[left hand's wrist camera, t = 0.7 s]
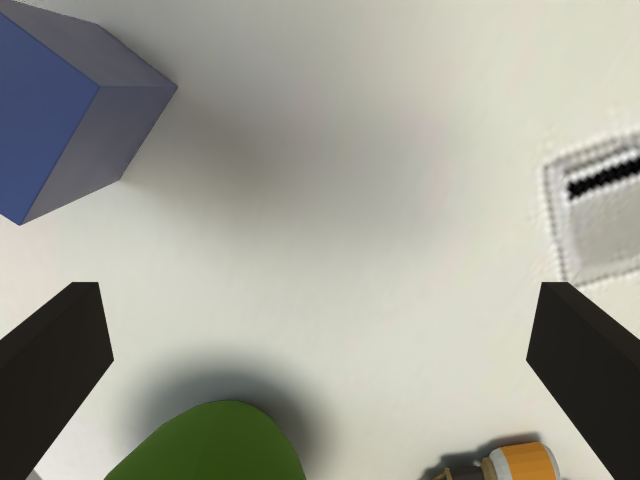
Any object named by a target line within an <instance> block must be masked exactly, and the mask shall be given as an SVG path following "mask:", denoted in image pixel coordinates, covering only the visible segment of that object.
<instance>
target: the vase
mask: <svg viewBox="0 0 640 480" xmlns="http://www.w3.org/2000/svg"><path fill="white" fill-rule="evenodd" d="M104 480H306V477H305V474H304V472H303V469H302V466H301V464H300V461H299V458H298V455H297V454H296V452H295V450H294V448H293V447H292V445H291V443H290V442H289V440H288V439H287V438H286V436H285V435H284V434H283V432H282V431H281V429H280V428H279V427H278V425H277V424H276V423H275V422H274V421H273V420H272V419H271V418H270V417H269V416H267V415H266V414H265V413H263V412H262V411H261V410H259V409H257V408H256V407H254V406H252V405H250V404H247V403H244V402H241V401H234V400H221V401H215V402H209V403H204V404H202V405H199V406H196V407H194V408H192V409H190V410H188V411H186V412H184V413H182V414H180V415H178V416H177V417H175V418H173V419H171V420H170V421H168V422H166V423H165V424H163V425H162V426H160V427H159V428H158V429H157V430H156V431H155V432H154V433H153V434H151V435H150V436H149V437H148V438H147V439H146V440H145V441H144V442H143V443H141V444H140V445H139V446H138V447H137V448H136V449H135V450H134V451H132V452H131V453H130V454H129V455H128V456H127V457H126V458H125V459H124V460H122V461H121V462H120V463H119V464H118V465H117V466H116V467H115V468H114V469H113V470H112V471H111V472H109V473H108V475H107V476H106V477H105V478H104Z"/></svg>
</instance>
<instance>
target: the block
mask: <svg viewBox="0 0 640 480" xmlns="http://www.w3.org/2000/svg"><path fill="white" fill-rule="evenodd" d="M176 89H177V86H176V85H175V84H174V83H172V82H171V81H170V80H168V79H167V78H166V77H165V76H163V75H162V74H161V73H159V72H158V71H157V70H156V69H154V68H153V67H152V66H150V65H149V64H148V63H147V62H145V61H144V60H143V59H141V58H140V57H139V56H137V55H136V54H135V53H134V52H132V51H131V50H130V49H128V48H127V47H126V46H125V45H123V44H122V43H121V42H119V41H118V40H117V39H116V38H114V37H113V36H112V35H110V34H109V33H108V32H106V31H105V30H104V29H103V28H101V27H100V26H99V25H97V24H94V23H91V22H87V21H84V20H80V19H76V18H73V17H69V16H66V15H62V14H59V13H55V12H52V11H48V10H44V9H41V8H37V7H34V6H30V5H27V4H23V3H20V2H16V1H12V0H0V214H1V215H3V216H5V217H6V218H8V219H9V220H11V221H12V222H14V223H16V224H17V225H19V226H21V225H23V224H25V223H27V222H29V221H31V220H34V219H36V218H38V217H40V216H42V215H44V214H47V213H49V212H51V211H53V210H55V209H57V208H60V207H62V206H64V205H66V204H68V203H70V202H73V201H75V200H77V199H79V198H81V197H84V196H86V195H88V194H90V193H92V192H94V191H97V190H99V189H101V188H103V187H105V186H107V185H110V184H112V183H114V182H116V181H118V180H119V179H120V177H121V175H122V174H123V172H124V171H125V169H126V168H127V166H128V164H129V163H130V161H131V160H132V158H133V157H134V155H135V153H136V152H137V150H138V149H139V147H140V146H141V144H142V142H143V141H144V139H145V138H146V136H147V135H148V133H149V131H150V130H151V128H152V127H153V125H154V124H155V122H156V121H157V119H158V117H159V116H160V114H161V113H162V111H163V110H164V108H165V106H166V105H167V103H168V102H169V100H170V99H171V97H172V95H173V94H174V92H175V91H176Z"/></svg>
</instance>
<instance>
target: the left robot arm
mask: <svg viewBox="0 0 640 480" xmlns="http://www.w3.org/2000/svg"><path fill="white" fill-rule="evenodd" d="M113 361H114V357H113V353H112V348H111V343H110V338H109V333H108V328H107V323H106V318H105V313H104V308H103V304H102V299H101V294H100V289H99V284H98V282H72V283H71V284H69V285H68V286H67V287H66V288H64V289H63V290H62V291H61V292H59V293H58V294H57V295H56V296H54V297H53V298H52V299H51V300H49V301H48V302H47V303H46V304H44V305H43V306H42V307H41V308H39V309H38V310H37V311H36V312H34V313H33V314H32V315H31V316H30V317H28V318H27V319H26V320H25V321H23V322H22V323H21V324H20V325H18V326H17V327H16V328H15V329H13V330H12V331H11V332H10V333H8V334H7V335H6V336H5V337H3V338H2V339H1V340H0V480H25V479H26V478H27V477H28V475H29V474H30V473H31V471H32V470H33V469H34V467H35V466H36V465H37V463H38V462H39V461H40V459H41V458H42V457H43V455H44V454H45V452H46V451H47V450H48V448H49V447H50V446H51V444H52V443H53V442H54V440H55V439H56V438H57V436H58V435H59V434H60V432H61V431H62V430H63V428H64V427H65V426H66V424H67V423H68V422H69V420H70V419H71V417H72V416H73V415H74V413H75V412H76V411H77V409H78V408H79V407H80V405H81V404H82V403H83V401H84V400H85V399H86V397H87V396H88V395H89V393H90V392H91V391H92V389H93V388H94V387H95V385H96V384H97V382H98V381H99V380H100V378H101V377H102V376H103V374H104V373H105V372H106V370H107V369H108V368H109V366H110V365H111V364H112V362H113ZM526 361H527V362H528V364H529V365H530V366H531V368H532V369H533V370H534V372H535V373H536V374H537V376H538V377H539V378H540V380H541V381H542V382H543V384H544V385H545V387H546V388H547V389H548V391H549V392H550V393H551V395H552V396H553V397H554V399H555V400H556V401H557V403H558V404H559V405H560V407H561V408H562V409H563V411H564V412H565V413H566V415H567V416H568V417H569V419H570V420H571V422H572V423H573V424H574V426H575V427H576V428H577V430H578V431H579V432H580V434H581V435H582V436H583V438H584V439H585V440H586V442H587V443H588V444H589V446H590V447H591V448H592V450H593V451H594V453H595V454H596V455H597V457H598V458H599V459H600V461H601V462H602V463H603V465H604V466H605V467H606V469H607V470H608V471H609V473H610V474H611V475H612V477H613V478H614V479H615V480H640V340H639V339H638V338H637V337H635V336H634V335H633V334H632V333H630V332H629V331H628V330H627V329H625V328H624V327H623V326H622V325H620V324H619V323H618V322H617V321H615V320H614V319H613V318H612V317H610V316H609V315H608V314H607V313H606V312H604V311H603V310H602V309H601V308H599V307H598V306H597V305H596V304H594V303H593V302H592V301H591V300H589V299H588V298H587V297H586V296H584V295H583V294H582V293H581V292H579V291H578V290H577V289H576V288H574V287H573V286H572V285H571V284H569V283H568V282H542V284H541V289H540V294H539V299H538V304H537V308H536V313H535V318H534V323H533V328H532V333H531V338H530V343H529V348H528V353H527V357H526Z"/></svg>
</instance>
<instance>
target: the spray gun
mask: <svg viewBox="0 0 640 480" xmlns="http://www.w3.org/2000/svg"><path fill="white" fill-rule="evenodd" d="M445 476H446V477H445ZM444 477H445V478H444ZM442 478H444V480H560V472H559V468H558V465H557V462H556V460H555V457H554V455H553V453H552V452H551V450H550V449H549V448H548V447H547V446H545V445H544V444H542V443H541V442H532V443H525V444H519V445H512V446H506V447H499V448H497V449H495V450H493V451H491V453H490V455H489V457H484V458H483V459H482V464H481V466H480V467H477V466H474V467H460V468H450V469H449V468H448V467H446V468H444V472H443V473H442V474H440V475H439V476H437V477H436V478H434V479H433V480H442Z"/></svg>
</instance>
